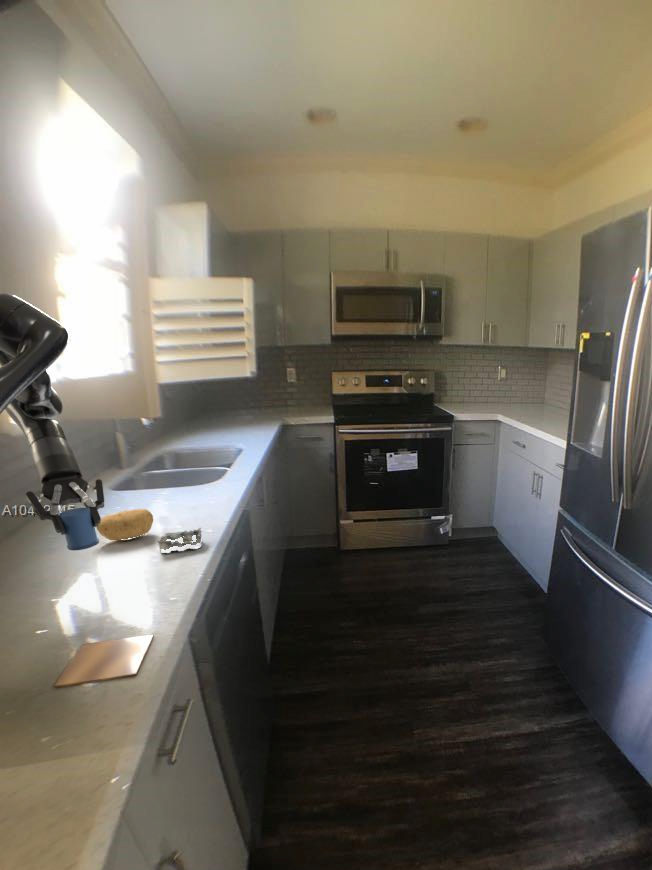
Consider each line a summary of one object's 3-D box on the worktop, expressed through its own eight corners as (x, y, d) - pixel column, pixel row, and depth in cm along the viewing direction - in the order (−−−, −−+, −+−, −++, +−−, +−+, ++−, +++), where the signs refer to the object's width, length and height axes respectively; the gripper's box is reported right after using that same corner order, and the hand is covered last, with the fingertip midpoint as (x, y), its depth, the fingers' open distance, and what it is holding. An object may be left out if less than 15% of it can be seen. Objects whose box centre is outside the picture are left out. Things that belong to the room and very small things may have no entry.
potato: (101, 538, 130) (94, 512, 127) (155, 528, 136) (150, 503, 133) (99, 551, 122) (92, 523, 119) (157, 539, 127) (151, 513, 125)
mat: (54, 687, 72) (54, 685, 72) (82, 646, 82) (82, 644, 82) (136, 675, 74) (135, 673, 74) (153, 636, 85) (153, 634, 84)
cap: (62, 551, 94) (52, 517, 92) (74, 540, 100) (65, 508, 97) (93, 548, 95) (84, 515, 93) (103, 538, 101) (95, 506, 98)
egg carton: (158, 556, 118) (154, 541, 116) (163, 544, 124) (160, 530, 123) (202, 550, 120) (199, 535, 119) (204, 539, 127) (202, 525, 125)
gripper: (11, 458, 92) (36, 529, 87) (93, 447, 101) (119, 511, 96) (16, 479, 97) (40, 547, 93) (93, 466, 106) (118, 528, 102)
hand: (80, 528), depth 95 cm, fingers closed on cap, 5 cm apart
